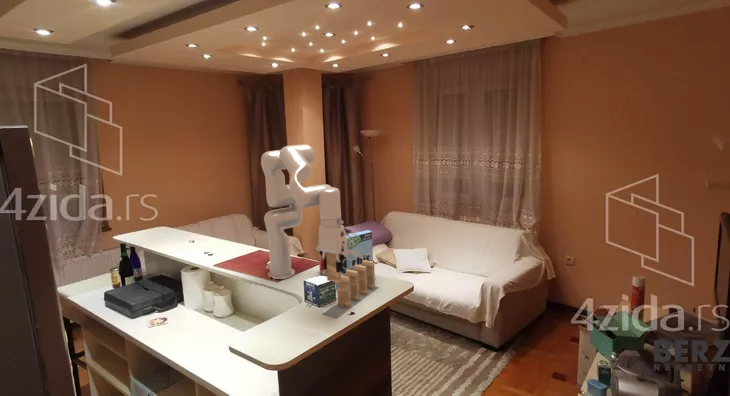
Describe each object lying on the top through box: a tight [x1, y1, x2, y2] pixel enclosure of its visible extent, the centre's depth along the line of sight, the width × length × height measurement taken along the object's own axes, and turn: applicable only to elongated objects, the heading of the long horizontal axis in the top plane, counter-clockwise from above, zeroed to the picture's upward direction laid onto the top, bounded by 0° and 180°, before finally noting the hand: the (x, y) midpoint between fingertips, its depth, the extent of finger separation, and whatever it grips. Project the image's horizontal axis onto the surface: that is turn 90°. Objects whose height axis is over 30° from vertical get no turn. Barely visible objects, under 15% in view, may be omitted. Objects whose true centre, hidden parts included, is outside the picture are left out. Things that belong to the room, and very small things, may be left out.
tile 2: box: [337, 275, 351, 308], centre depth 154 cm, size 2×5×12 cm, turn 58°
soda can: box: [318, 252, 327, 276], centre depth 189 cm, size 7×7×12 cm
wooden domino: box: [362, 260, 376, 290], centre depth 169 cm, size 2×5×12 cm, turn 57°
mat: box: [321, 285, 380, 320], centre depth 160 cm, size 31×7×1 cm, turn 147°
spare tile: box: [326, 252, 341, 283], centre depth 147 cm, size 2×5×12 cm, turn 57°
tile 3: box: [346, 269, 360, 301], centre depth 159 cm, size 2×5×12 cm, turn 58°
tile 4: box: [354, 264, 367, 295], centre depth 164 cm, size 2×5×12 cm, turn 57°
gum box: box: [335, 229, 374, 292], centre depth 174 cm, size 20×5×23 cm, turn 123°
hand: (333, 269), depth 147 cm, fingers closed on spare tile, 4 cm apart
